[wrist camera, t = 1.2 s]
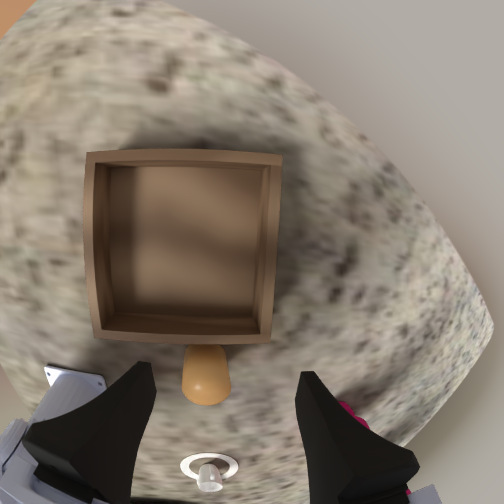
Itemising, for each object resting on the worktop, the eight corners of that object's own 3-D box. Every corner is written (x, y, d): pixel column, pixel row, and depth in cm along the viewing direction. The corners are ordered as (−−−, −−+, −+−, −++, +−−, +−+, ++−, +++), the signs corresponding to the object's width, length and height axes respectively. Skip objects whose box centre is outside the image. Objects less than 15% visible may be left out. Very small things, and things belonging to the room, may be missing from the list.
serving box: (259, 319, 25) (269, 342, 20) (110, 316, 22) (94, 337, 18) (268, 163, 22) (282, 154, 18) (107, 160, 20) (86, 152, 16)
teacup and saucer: (217, 484, 30) (220, 503, 26) (169, 471, 28) (168, 492, 24) (248, 458, 29) (253, 480, 25) (196, 443, 27) (197, 467, 23)
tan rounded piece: (225, 373, 25) (230, 404, 21) (185, 372, 25) (183, 405, 20) (226, 339, 25) (231, 368, 20) (183, 338, 24) (180, 368, 19)
